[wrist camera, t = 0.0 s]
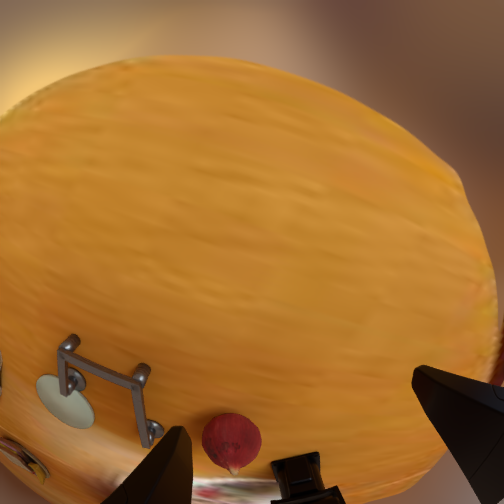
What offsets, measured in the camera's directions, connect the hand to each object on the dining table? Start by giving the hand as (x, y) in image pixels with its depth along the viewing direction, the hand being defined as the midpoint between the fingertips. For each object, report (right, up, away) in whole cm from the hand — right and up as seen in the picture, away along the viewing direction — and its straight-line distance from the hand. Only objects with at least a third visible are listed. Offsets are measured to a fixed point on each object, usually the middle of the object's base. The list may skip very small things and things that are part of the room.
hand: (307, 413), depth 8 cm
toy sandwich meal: (-51, -38, +20) cm, 67 cm away
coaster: (-26, -13, +16) cm, 33 cm away
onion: (-4, -12, +17) cm, 22 cm away
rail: (-17, -10, +16) cm, 25 cm away
